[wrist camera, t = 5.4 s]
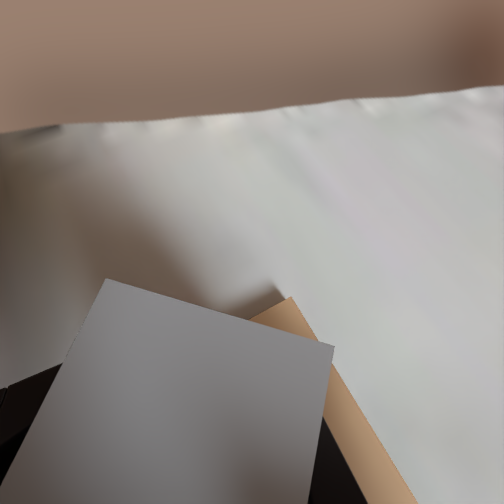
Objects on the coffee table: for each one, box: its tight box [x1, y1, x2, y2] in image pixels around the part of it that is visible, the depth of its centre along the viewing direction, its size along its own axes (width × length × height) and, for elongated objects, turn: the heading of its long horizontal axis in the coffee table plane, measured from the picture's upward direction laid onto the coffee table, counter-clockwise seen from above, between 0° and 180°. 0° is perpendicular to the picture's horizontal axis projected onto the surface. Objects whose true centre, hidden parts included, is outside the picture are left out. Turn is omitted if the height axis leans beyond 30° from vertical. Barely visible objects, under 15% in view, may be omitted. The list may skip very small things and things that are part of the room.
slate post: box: [0, 278, 335, 504], centre depth 9 cm, size 4×4×10 cm
